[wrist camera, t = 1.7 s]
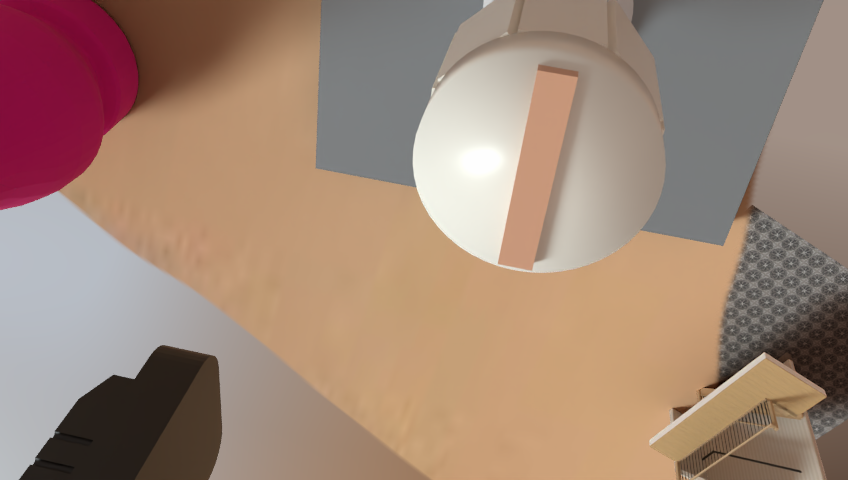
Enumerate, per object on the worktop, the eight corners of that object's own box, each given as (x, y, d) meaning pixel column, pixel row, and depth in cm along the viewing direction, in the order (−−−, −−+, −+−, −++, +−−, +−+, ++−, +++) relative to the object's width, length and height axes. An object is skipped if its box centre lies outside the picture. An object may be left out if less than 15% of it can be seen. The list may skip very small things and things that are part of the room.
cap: (461, -37, 20) (424, 35, 16) (679, 0, 19) (701, 84, 15) (435, 153, 23) (399, 254, 19) (623, 188, 22) (628, 300, 18)
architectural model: (642, 388, 38) (651, 521, 32) (751, 298, 34) (783, 431, 28) (699, 422, 38) (718, 559, 32) (812, 338, 34) (858, 476, 28)
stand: (346, -323, 23) (180, -329, 14) (905, -246, 22) (1125, -198, 13) (326, 150, 33) (218, 333, 24) (718, 224, 31) (768, 449, 22)
